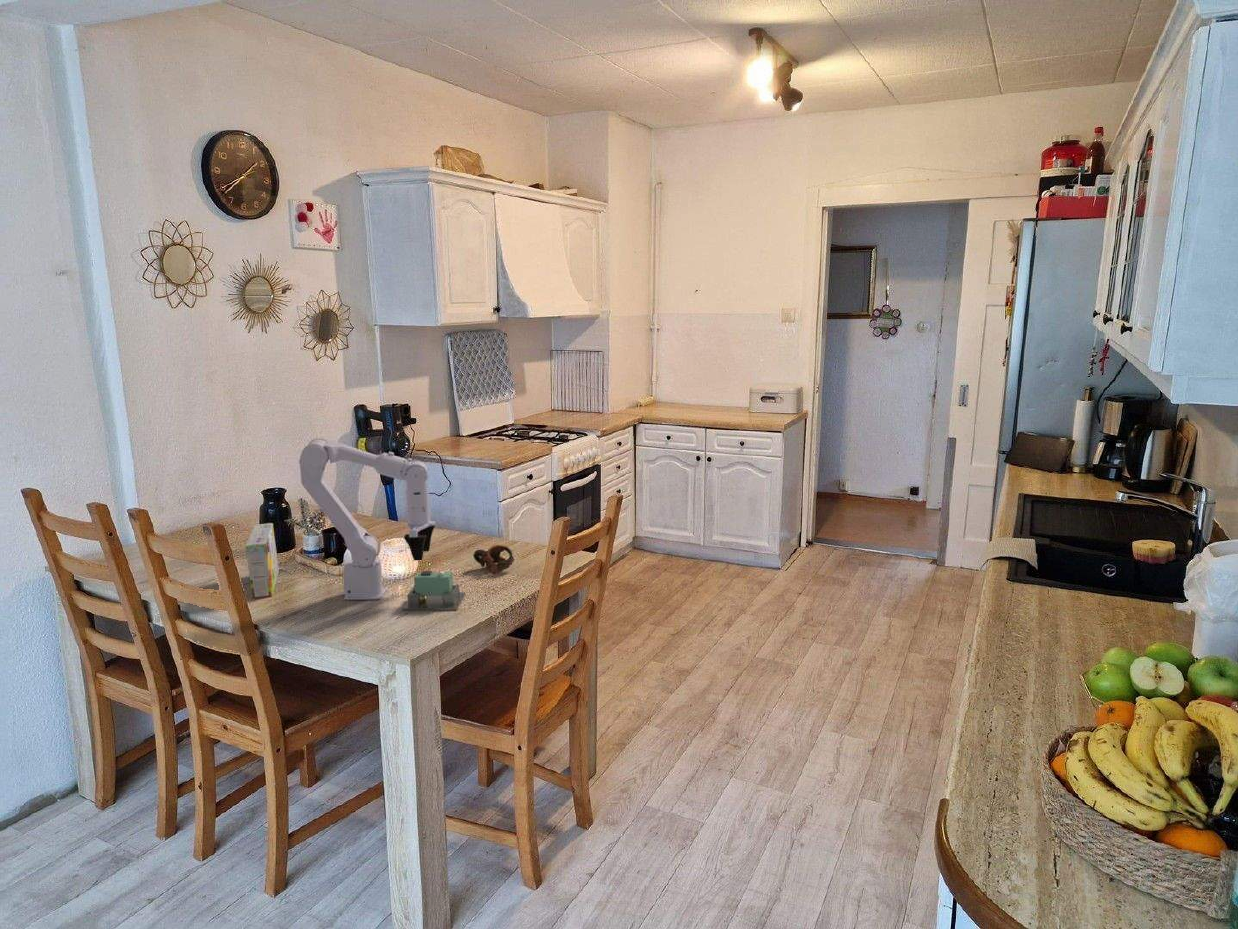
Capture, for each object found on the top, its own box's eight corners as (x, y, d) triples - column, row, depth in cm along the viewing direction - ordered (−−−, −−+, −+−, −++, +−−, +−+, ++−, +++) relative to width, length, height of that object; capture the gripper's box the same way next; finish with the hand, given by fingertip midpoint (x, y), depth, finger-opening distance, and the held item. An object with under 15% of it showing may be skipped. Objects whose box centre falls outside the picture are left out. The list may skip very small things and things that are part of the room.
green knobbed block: (415, 595, 207) (413, 574, 206) (419, 590, 211) (417, 569, 210) (449, 595, 207) (448, 574, 206) (453, 590, 211) (452, 569, 210)
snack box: (259, 574, 233) (253, 524, 230) (279, 572, 235) (274, 522, 232) (250, 599, 214) (244, 545, 210) (273, 596, 215) (267, 542, 212)
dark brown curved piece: (514, 564, 240) (518, 545, 235) (507, 587, 233) (511, 568, 228) (475, 555, 240) (478, 536, 235) (466, 578, 232) (469, 559, 227)
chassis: (402, 610, 204) (401, 597, 203) (413, 595, 215) (412, 582, 214) (457, 610, 204) (456, 597, 203) (465, 594, 215) (464, 582, 214)
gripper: (426, 513, 206) (430, 564, 209) (439, 499, 221) (442, 547, 223) (399, 513, 207) (403, 564, 209) (413, 500, 221) (417, 547, 223)
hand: (421, 555), depth 216 cm, fingers open, 7 cm apart
